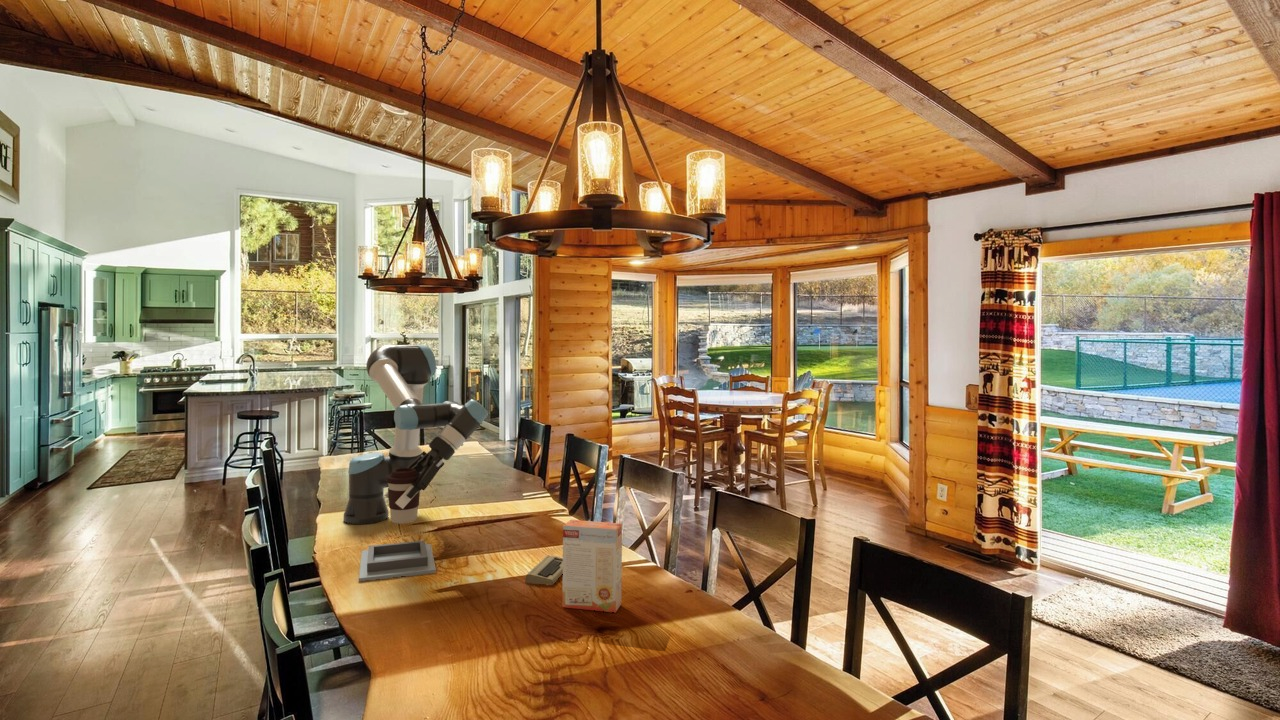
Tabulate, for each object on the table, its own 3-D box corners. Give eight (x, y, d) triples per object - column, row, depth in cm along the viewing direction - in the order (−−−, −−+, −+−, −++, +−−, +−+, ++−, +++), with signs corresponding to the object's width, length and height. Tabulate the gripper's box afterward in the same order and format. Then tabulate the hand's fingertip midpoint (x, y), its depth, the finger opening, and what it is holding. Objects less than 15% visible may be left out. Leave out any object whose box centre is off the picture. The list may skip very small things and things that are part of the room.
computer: (552, 587, 171) (553, 575, 171) (524, 584, 173) (525, 572, 172) (571, 567, 186) (571, 556, 186) (545, 564, 188) (545, 553, 188)
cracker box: (622, 604, 160) (623, 522, 159) (615, 614, 154) (617, 529, 153) (569, 598, 163) (570, 518, 162) (561, 607, 157) (562, 524, 156)
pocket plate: (362, 553, 194) (362, 542, 194) (430, 546, 201) (430, 535, 201) (358, 582, 171) (358, 569, 171) (435, 573, 179) (435, 560, 179)
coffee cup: (386, 527, 180) (386, 474, 179) (385, 517, 189) (385, 467, 188) (423, 523, 184) (423, 472, 183) (420, 514, 193) (420, 465, 192)
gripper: (469, 457, 186) (414, 518, 177) (441, 445, 204) (391, 501, 195) (451, 440, 183) (395, 502, 174) (425, 430, 200) (373, 486, 191)
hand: (393, 501), depth 184 cm, fingers closed on coffee cup, 10 cm apart
